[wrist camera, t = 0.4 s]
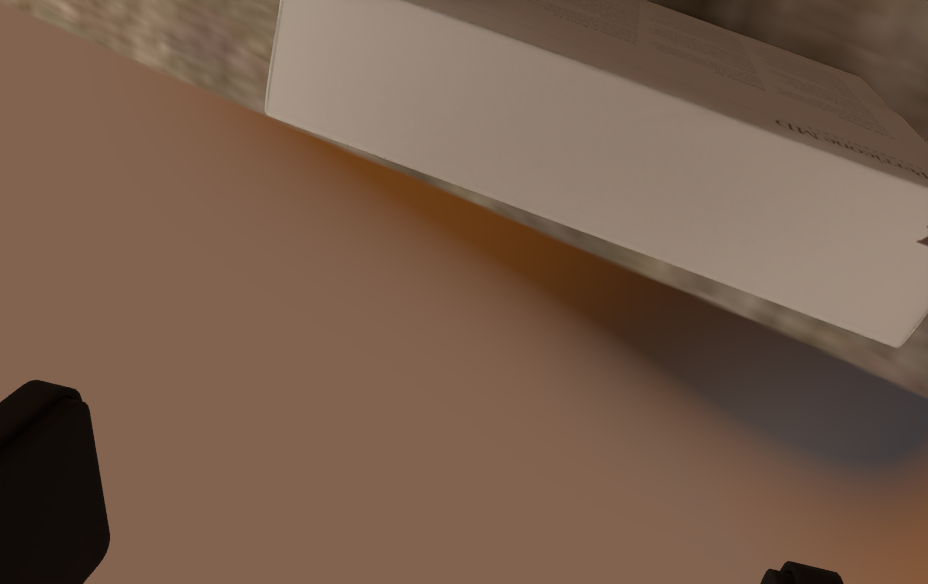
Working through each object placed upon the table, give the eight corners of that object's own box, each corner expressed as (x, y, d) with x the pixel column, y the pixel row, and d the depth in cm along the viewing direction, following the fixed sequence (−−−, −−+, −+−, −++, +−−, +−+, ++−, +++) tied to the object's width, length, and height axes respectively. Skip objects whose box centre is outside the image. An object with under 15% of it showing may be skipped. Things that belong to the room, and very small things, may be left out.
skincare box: (400, 39, 37) (252, 115, 23) (429, -78, 34) (281, -72, 20) (804, 186, 36) (904, 359, 22) (866, 78, 33) (1026, 197, 19)
